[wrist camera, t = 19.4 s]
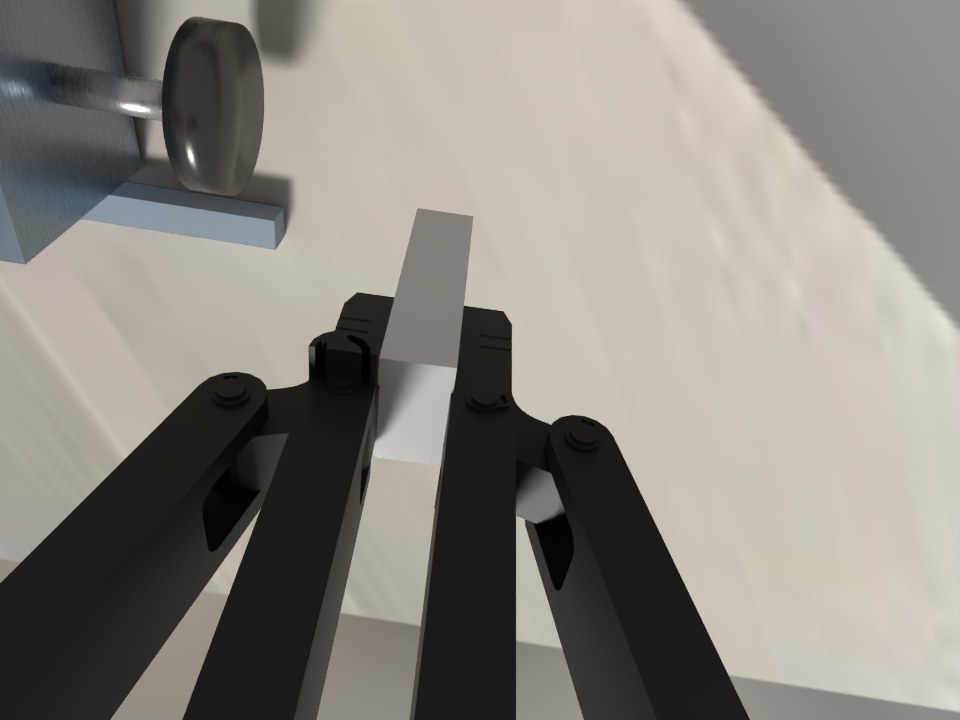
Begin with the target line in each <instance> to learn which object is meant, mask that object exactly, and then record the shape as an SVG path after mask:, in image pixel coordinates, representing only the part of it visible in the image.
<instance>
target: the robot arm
mask: <svg viewBox="0 0 960 720" xmlns="http://www.w3.org/2000/svg"><path fill="white" fill-rule="evenodd" d="M472 223H473V216H467V215H460V214H453V213H447V212H440V211H433V210H426V209H420V208H418V209H417V213H416V217H415V221H414V225H413V228H412V232H411V236H410V240H409V244H408V248H407V252H406V256H405V260H404V263H403V267H402V271H401V275H400V279H399V283H398V287H397V291H396V295H395V298H394V297H387V296H380V295H372V294H365V293H358V292H357V293H356V294H355V295H354V296H353V297H351V298H350V299H349V300H348V301H347V302H345V303H344V306H343V309H342V312H341V314H340V319H339V320H338V323H337V326H336V330H335V331H332V332H328V333H324V334H322V335H320V336H318V337H316V338H315V339H314V340H313V341H312V342H311V344H310V345H309V381H307V382H305V383H303V384H300V385H297V386H294V387H288V388H281V389H270V390H267V389H266V386H265V384H264V383H263V382H262V381H261V380H260V379H259V378H257V377H255V376H253V375H251V374H247V373H240V372H230V373H222V374H219V375H216V376H213V377H210V378H209V379H207V380H206V381H204V382H203V383H201V384H200V385H199V386H198V387H197V388H196V389H195V390H194V391H193V392H192V393H191V394H190V395H189V396H188V397H187V398H186V399H185V400H184V401H183V402H182V403H181V404H180V405H179V406H178V407H177V408H176V409H175V410H174V411H173V412H172V413H171V414H170V415H169V416H168V417H167V418H166V419H165V420H164V421H163V422H162V423H161V424H160V425H159V426H158V427H157V428H156V429H155V430H154V431H153V432H152V433H151V434H150V435H149V436H148V437H147V438H146V439H145V440H144V441H143V442H142V443H141V444H140V445H139V446H138V447H137V448H136V449H135V450H134V451H133V452H132V453H131V454H130V455H129V456H128V457H127V458H126V459H125V460H124V461H123V462H122V463H121V464H120V465H119V466H118V467H117V468H116V469H115V470H114V471H113V472H112V473H111V474H110V475H109V476H108V477H107V478H106V479H105V480H104V481H103V482H102V483H101V484H100V485H99V486H98V487H97V488H96V489H95V490H94V491H93V492H92V493H91V494H90V495H89V496H88V497H87V498H86V499H84V500H83V501H82V502H81V503H80V504H79V505H78V506H77V507H76V508H75V509H74V510H73V511H72V512H71V513H70V514H69V515H68V516H67V517H66V518H65V519H64V520H63V521H62V522H61V523H60V524H59V525H58V526H57V527H56V528H55V529H54V530H53V531H52V532H51V533H50V534H49V535H48V536H47V537H46V538H45V539H44V540H43V541H42V542H41V543H40V544H39V545H38V546H37V547H36V548H35V549H34V550H33V551H32V552H31V553H30V554H29V555H28V556H27V557H26V558H25V559H24V560H23V561H22V562H21V563H20V564H19V565H18V567H16V568H15V569H14V570H13V571H12V572H11V573H10V574H9V575H8V576H7V577H6V578H5V579H4V580H3V581H2V582H1V583H0V720H110V719H111V718H112V716H113V715H114V713H115V712H116V711H117V709H118V708H119V707H120V705H121V704H122V702H123V701H124V700H125V698H126V697H127V695H128V694H129V693H130V691H131V690H132V688H133V687H134V685H135V684H136V683H137V681H138V680H139V678H140V677H141V676H142V674H143V673H144V671H145V670H146V669H147V667H148V666H149V664H150V663H151V661H152V660H153V659H154V657H155V656H156V655H157V653H158V652H159V650H160V649H161V648H162V646H163V645H164V643H165V642H166V641H167V639H168V638H169V636H170V635H171V634H172V632H173V631H174V629H175V628H176V627H177V625H178V623H179V622H180V621H181V620H182V618H183V617H184V615H185V614H186V613H187V611H188V610H189V608H190V607H191V606H192V604H193V603H194V601H195V600H196V599H197V597H198V596H199V594H200V593H201V591H202V590H203V589H204V587H205V586H206V584H207V583H208V582H209V580H210V579H211V577H212V576H213V575H214V573H215V572H216V570H217V569H218V568H219V566H220V565H221V563H222V562H223V561H224V559H225V558H226V556H227V555H228V554H229V552H230V551H231V549H232V548H233V547H234V545H235V544H236V542H237V541H238V540H239V538H240V537H241V535H242V534H243V533H244V531H245V530H246V528H247V527H248V526H249V524H250V523H251V521H252V520H253V519H254V517H255V516H256V514H257V513H258V512H259V510H260V509H261V510H260V513H259V515H258V518H257V521H256V523H255V526H254V529H253V531H252V534H251V537H250V539H249V542H248V545H247V548H246V550H245V553H244V556H243V558H242V561H241V564H240V566H239V569H238V572H237V574H236V577H235V580H234V583H233V585H232V588H231V591H230V593H229V596H228V599H227V601H226V604H225V607H224V609H223V612H222V615H221V618H220V620H219V623H218V626H217V628H216V631H215V634H214V637H213V639H212V642H211V644H210V647H209V650H208V653H207V655H206V658H205V661H204V663H203V666H202V669H201V671H200V674H199V677H198V679H197V682H196V685H195V687H194V690H193V693H192V696H191V698H190V701H189V704H188V707H187V709H186V712H185V714H184V717H183V720H316V719H317V714H318V710H319V705H320V701H321V696H322V692H323V687H324V683H325V678H326V673H327V669H328V664H329V660H330V655H331V651H332V646H333V641H334V637H335V632H336V628H337V624H338V619H339V614H340V610H341V605H342V601H343V596H344V592H345V587H346V583H347V578H348V574H349V569H350V565H351V560H352V555H353V551H354V546H355V542H356V537H357V533H358V528H359V524H360V519H361V515H362V510H363V505H364V501H365V496H366V492H367V487H368V483H369V478H370V467H371V457H372V453H373V457H377V458H385V459H393V460H401V461H409V462H416V463H424V464H432V465H440V466H441V468H440V474H439V481H438V487H437V494H436V501H435V507H434V508H435V513H434V522H433V530H432V538H431V547H430V555H429V563H428V572H427V580H426V588H425V596H424V605H423V613H422V621H421V630H420V638H419V646H418V655H417V664H416V671H415V680H414V688H413V697H412V705H411V713H410V720H516V516H519V517H521V518H524V519H525V526H526V529H527V532H528V536H529V539H530V542H531V546H532V549H533V552H534V556H535V559H536V562H537V566H538V569H539V572H540V575H541V579H542V582H543V585H544V589H545V592H546V595H547V599H548V602H549V605H550V609H551V612H552V615H553V618H554V622H555V625H556V628H557V632H558V635H559V638H560V642H561V645H562V648H563V652H564V655H565V658H566V661H567V664H568V668H569V671H570V675H571V678H572V681H573V685H574V688H575V691H576V695H577V698H578V701H579V705H580V708H581V711H582V714H583V718H584V720H750V719H749V717H748V715H747V713H746V711H745V709H744V707H743V705H742V702H741V700H740V698H739V696H738V694H737V692H736V690H735V688H734V686H733V684H732V682H731V680H730V678H729V675H728V673H727V671H726V669H725V667H724V665H723V663H722V661H721V659H720V657H719V655H718V653H717V651H716V649H715V646H714V644H713V642H712V640H711V638H710V636H709V634H708V632H707V630H706V628H705V626H704V624H703V622H702V619H701V617H700V615H699V613H698V611H697V609H696V607H695V605H694V603H693V601H692V599H691V597H690V595H689V592H688V590H687V588H686V586H685V584H684V582H683V580H682V578H681V576H680V574H679V572H678V570H677V568H676V566H675V563H674V561H673V559H672V557H671V555H670V553H669V551H668V549H667V547H666V545H665V543H664V541H663V539H662V536H661V534H660V532H659V530H658V528H657V526H656V524H655V522H654V520H653V518H652V516H651V514H650V512H649V510H648V507H647V505H646V503H645V501H644V499H643V497H642V495H641V493H640V491H639V489H638V487H637V485H636V483H635V480H634V478H633V476H632V474H631V472H630V470H629V468H628V466H627V464H626V462H625V460H624V458H623V456H622V454H621V451H620V449H619V447H618V445H617V443H616V441H615V439H614V437H613V436H612V434H611V433H610V432H609V430H608V429H607V428H606V427H605V426H603V425H602V424H600V423H599V422H598V421H596V420H593V419H590V418H588V417H585V416H576V415H570V416H565V417H561V418H559V419H558V420H556V421H555V422H553V424H552V425H550V424H548V423H545V422H542V421H540V420H537V419H535V418H533V417H531V416H529V415H528V414H526V413H525V412H524V411H522V410H521V409H520V408H519V407H518V405H517V404H516V403H515V401H514V397H513V396H512V352H511V351H512V341H511V340H512V324H511V323H510V321H509V320H508V318H507V316H506V315H505V313H504V312H503V311H497V310H490V309H483V308H476V307H468V306H464V298H465V289H466V279H467V270H468V260H469V251H470V242H471V232H472Z"/></svg>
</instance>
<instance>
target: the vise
mask: <svg viewBox="0 0 960 720" xmlns="http://www.w3.org/2000/svg"><path fill="white" fill-rule="evenodd" d="M81 219H84V220H90V221H96V222H103V223H109V224H115V225H122V226H128V227H135V228H141V229H147V230H154V231H160V232H166V233H173V234H179V235H185V236H192V237H198V238H204V239H211V240H217V241H223V242H230V243H236V244H243V245H249V246H255V247H262V248H268V249H274V250H276V248H277V247H278V245H279V244H280V242H281V241H282V239H283V237H284V236H285V223H284V207H280V206H274V205H267V204H261V203H255V202H249V201H242V200H236V199H230V198H224V197H217V196H211V195H205V194H199V193H192V192H186V191H180V190H173V189H167V188H161V187H155V186H148V185H142V184H136V183H130V182H124V183H123V184H122V185H121V186H119V187H118V188H117V189H116V190H115V191H113V192H112V193H111V194H110V195H109V196H107V197H106V198H105V199H104V200H103V201H101V202H100V203H99V204H98V205H96V206H95V207H94V208H93V209H92V210H90V211H89V212H88V213H87V214H86V215H84V216H83V217H82V218H81Z"/></svg>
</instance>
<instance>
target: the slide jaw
mask: <svg viewBox="0 0 960 720" xmlns="http://www.w3.org/2000/svg"><path fill="white" fill-rule="evenodd" d="M133 116H135V117H141V118H147V119H153V120H159V121H162V124H163V132H164V139H165V144H166V149H167V153H168V157H169V160H170V163H171V165H172V168H173V170H174V172H175V174H176V176H177V177H178V179H179V180H180V182H181V183H182V184H183V185H184V186H185V187H187V188H189V189H191V190H196V191H202V192H209V193H215V194H221V195H227V196H235V195H238V194H239V193H241V192H242V191H243V190H244V188H245V187H246V185H247V184H248V182H249V180H250V178H251V176H252V174H253V171H254V168H255V165H256V162H257V158H258V154H259V149H260V144H261V138H262V130H263V119H264V87H263V76H262V69H261V63H260V58H259V54H258V50H257V47H256V44H255V42H254V39H253V37H252V35H251V34H250V32H249V31H248V29H247V28H246V27H245V26H243V25H241V24H239V23H233V22H227V21H221V20H216V19H210V18H204V17H191V18H189V19H188V20H186V21H185V22H184V23H183V24H182V25H181V26H180V28H179V29H178V31H177V32H176V34H175V37H174V39H173V41H172V43H171V46H170V49H169V52H168V56H167V60H166V65H165V70H164V77H163V81H162V80H156V79H150V78H144V77H137V76H131V75H126V74H125V68H124V62H123V56H122V51H121V45H120V39H119V33H118V28H117V22H116V16H115V10H114V5H113V0H0V261H6V262H13V263H19V264H27V263H28V262H29V261H30V260H31V259H33V258H34V257H35V256H36V255H37V254H39V253H40V252H41V251H42V250H43V249H45V248H46V247H47V246H48V245H50V244H51V243H52V242H53V241H54V240H56V239H57V238H58V237H59V236H60V235H62V234H63V233H64V232H65V231H66V230H68V229H69V228H70V227H71V226H72V225H74V224H75V223H76V222H77V221H78V220H80V219H81V218H82V217H83V216H84V215H86V214H87V213H88V212H89V211H90V210H92V209H93V208H94V207H95V206H96V205H98V204H99V203H100V202H101V201H103V200H104V199H105V198H106V197H107V196H109V195H110V194H111V193H112V192H113V191H115V190H116V189H117V188H118V187H119V186H121V185H122V184H123V183H124V182H125V181H127V180H128V179H129V178H130V177H131V176H133V175H134V174H135V173H136V172H137V171H139V170H140V169H141V168H142V166H141V160H140V154H139V149H138V143H137V137H136V131H135V125H134V120H133Z"/></svg>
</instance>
